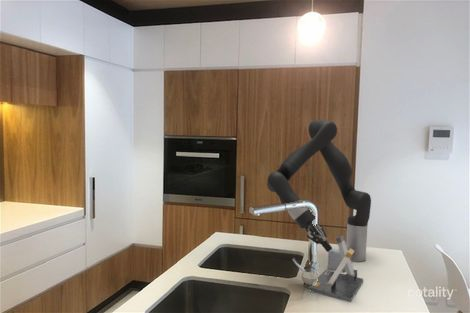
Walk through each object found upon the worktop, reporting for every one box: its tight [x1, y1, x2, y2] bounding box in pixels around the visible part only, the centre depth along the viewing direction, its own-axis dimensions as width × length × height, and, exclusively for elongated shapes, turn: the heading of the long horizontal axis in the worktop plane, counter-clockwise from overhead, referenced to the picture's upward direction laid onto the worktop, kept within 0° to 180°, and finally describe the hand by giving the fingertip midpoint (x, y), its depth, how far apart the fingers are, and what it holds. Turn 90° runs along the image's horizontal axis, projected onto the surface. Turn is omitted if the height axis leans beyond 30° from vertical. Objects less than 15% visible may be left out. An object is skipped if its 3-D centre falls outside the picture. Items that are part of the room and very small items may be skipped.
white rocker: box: [328, 248, 354, 286], centre depth 135 cm, size 5×2×18 cm, turn 148°
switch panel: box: [308, 268, 364, 303], centre depth 143 cm, size 20×16×4 cm
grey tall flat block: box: [335, 234, 356, 277], centre depth 147 cm, size 5×2×18 cm, turn 148°
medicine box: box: [327, 248, 346, 272], centre depth 160 cm, size 8×4×9 cm, turn 74°
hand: (330, 250), depth 136 cm, fingers closed
